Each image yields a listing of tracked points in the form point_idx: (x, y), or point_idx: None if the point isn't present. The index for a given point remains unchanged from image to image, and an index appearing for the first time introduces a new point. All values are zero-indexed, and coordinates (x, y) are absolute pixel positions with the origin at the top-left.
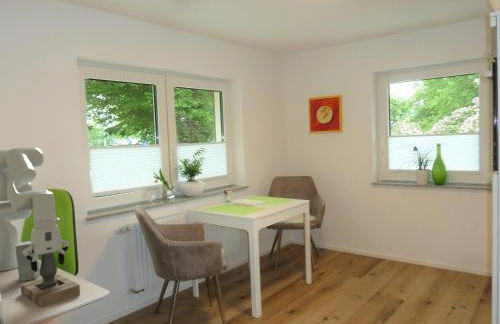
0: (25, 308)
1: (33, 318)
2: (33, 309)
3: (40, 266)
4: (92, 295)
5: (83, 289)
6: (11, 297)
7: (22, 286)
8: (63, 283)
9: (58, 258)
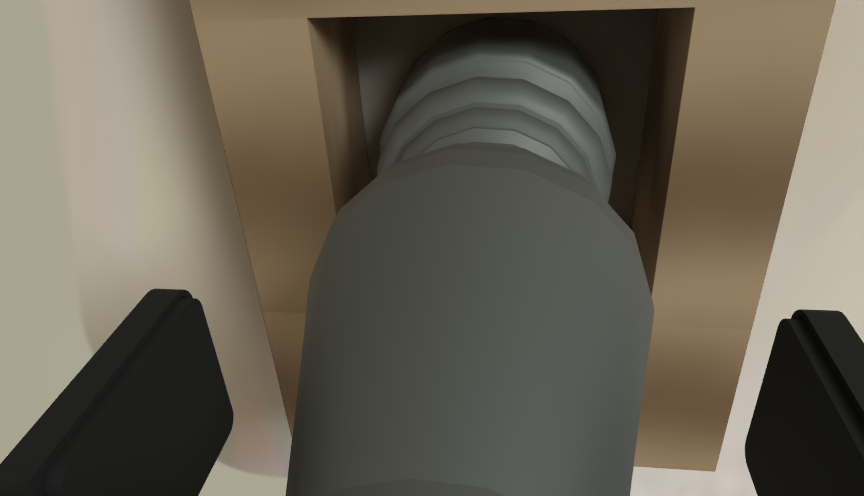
0: (209, 272)
1: (238, 469)
2: (263, 343)
3: (301, 365)
4: (737, 473)
5: (811, 295)
6: None
7: None
8: (653, 256)
9: (832, 427)
